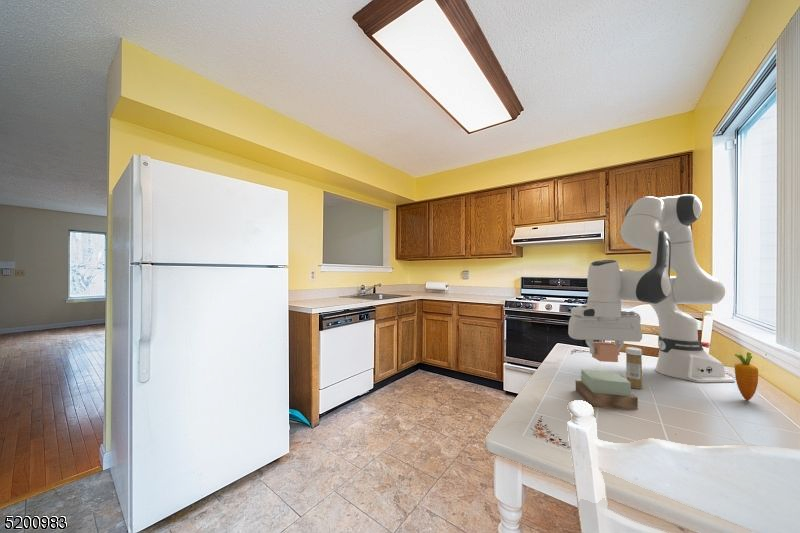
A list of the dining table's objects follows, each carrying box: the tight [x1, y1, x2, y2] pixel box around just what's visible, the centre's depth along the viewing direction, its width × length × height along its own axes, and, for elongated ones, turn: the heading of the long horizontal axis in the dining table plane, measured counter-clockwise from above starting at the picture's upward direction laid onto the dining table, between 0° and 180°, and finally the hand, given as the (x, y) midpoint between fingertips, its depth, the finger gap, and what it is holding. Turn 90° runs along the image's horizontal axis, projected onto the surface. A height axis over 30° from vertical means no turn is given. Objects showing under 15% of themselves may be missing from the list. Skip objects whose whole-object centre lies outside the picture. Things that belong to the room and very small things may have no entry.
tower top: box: [580, 368, 632, 396], centre depth 93 cm, size 10×10×4 cm
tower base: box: [575, 380, 639, 411], centre depth 92 cm, size 12×12×4 cm
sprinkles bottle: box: [625, 346, 644, 390], centre depth 103 cm, size 5×5×14 cm
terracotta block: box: [591, 341, 619, 363], centre depth 93 cm, size 5×5×5 cm
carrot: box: [734, 351, 759, 401], centre depth 92 cm, size 5×5×15 cm
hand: (604, 354), depth 93 cm, fingers closed on terracotta block, 5 cm apart
